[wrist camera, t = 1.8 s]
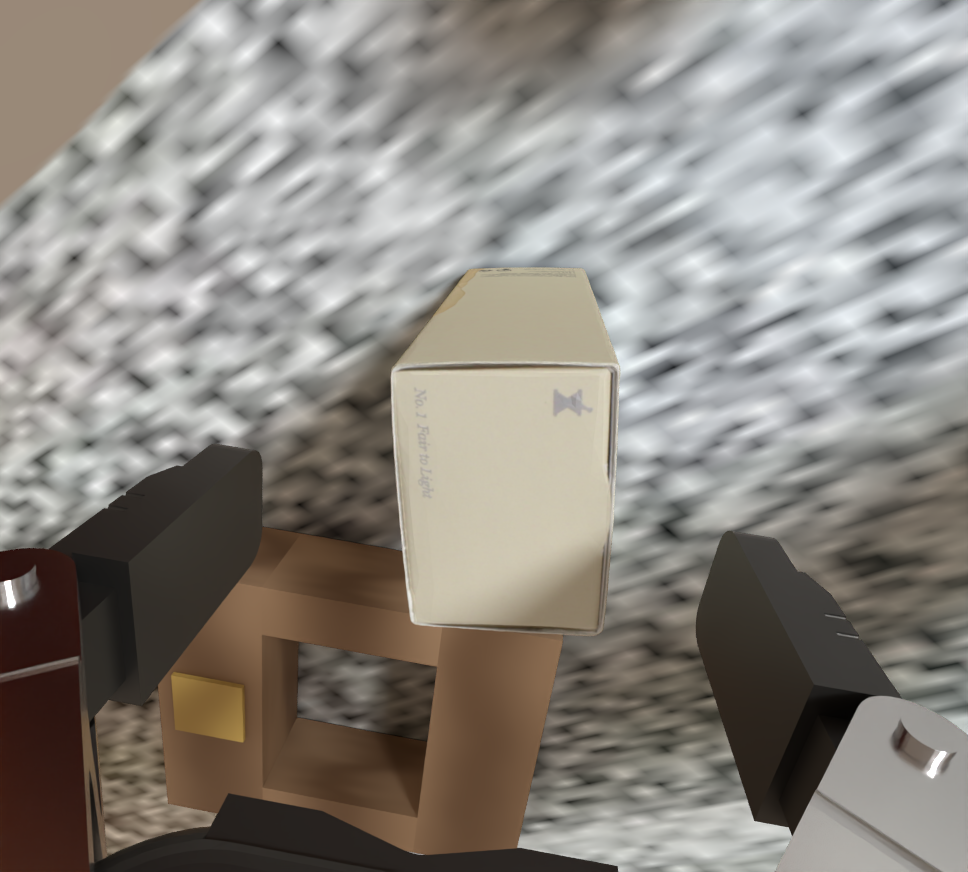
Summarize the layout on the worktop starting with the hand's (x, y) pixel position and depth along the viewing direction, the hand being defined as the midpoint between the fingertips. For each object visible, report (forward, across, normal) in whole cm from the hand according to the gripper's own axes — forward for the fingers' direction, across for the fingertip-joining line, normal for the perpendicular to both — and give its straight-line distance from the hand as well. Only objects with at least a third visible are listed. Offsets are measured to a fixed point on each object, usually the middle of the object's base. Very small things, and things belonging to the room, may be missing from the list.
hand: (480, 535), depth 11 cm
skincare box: (+14, 0, 0) cm, 14 cm away
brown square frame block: (+14, +4, +16) cm, 22 cm away
